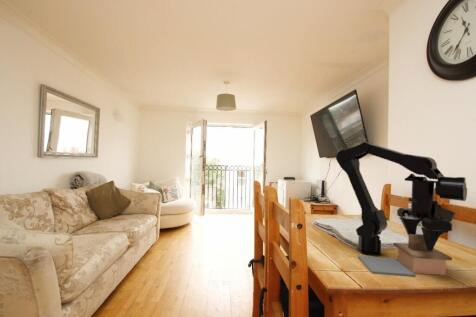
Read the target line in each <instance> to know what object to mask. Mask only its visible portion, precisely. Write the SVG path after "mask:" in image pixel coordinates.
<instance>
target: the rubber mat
mask: <svg viewBox="0 0 476 317" xmlns="http://www.w3.org/2000/svg"><path fill="white" fill-rule="evenodd" d="M357 259H358V260H359V261H360V262H361V263H362V264H363V266H364V267H366V269H368V271H369V272H370V273H371V274H379V275H391V276H392V275H393V276H400V277H401V276H402V277H403V276H404V277H414V278H416V273H413V272H412V271H411V270H409V269H408V268H407V267H406V266H404V265H403V264H402V263H400V262H399V261H398V259H397V258H393V257H382V256H369V255H368V256H367V255H366V256H365V255H357Z"/></svg>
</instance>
